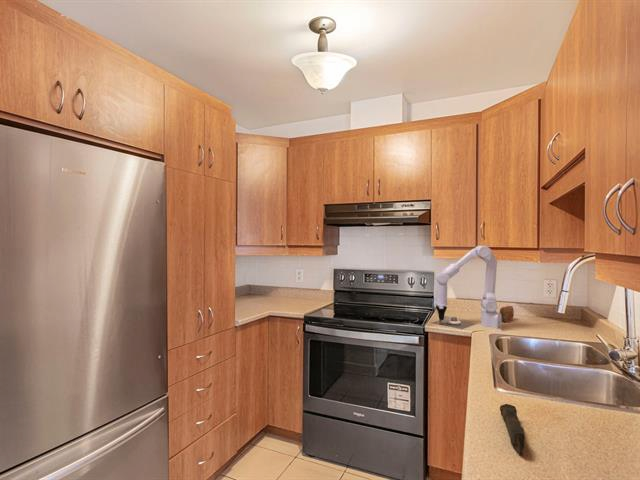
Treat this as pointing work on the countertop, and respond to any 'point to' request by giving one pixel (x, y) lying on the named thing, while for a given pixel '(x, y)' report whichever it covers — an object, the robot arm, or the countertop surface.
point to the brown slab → (507, 313)
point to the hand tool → (513, 427)
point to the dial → (451, 320)
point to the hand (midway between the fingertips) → (441, 319)
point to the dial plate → (459, 326)
